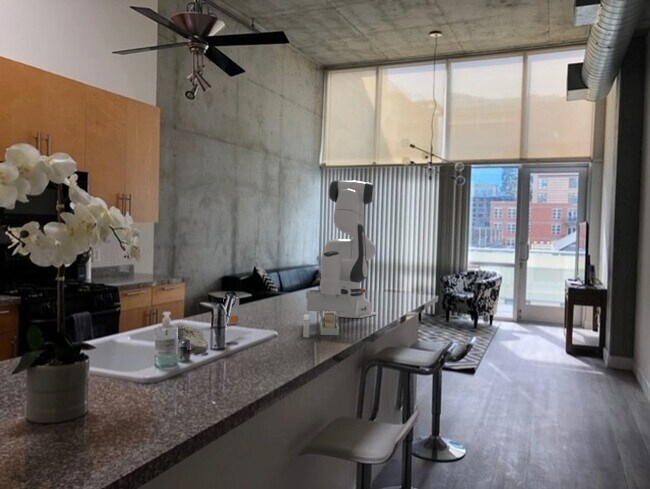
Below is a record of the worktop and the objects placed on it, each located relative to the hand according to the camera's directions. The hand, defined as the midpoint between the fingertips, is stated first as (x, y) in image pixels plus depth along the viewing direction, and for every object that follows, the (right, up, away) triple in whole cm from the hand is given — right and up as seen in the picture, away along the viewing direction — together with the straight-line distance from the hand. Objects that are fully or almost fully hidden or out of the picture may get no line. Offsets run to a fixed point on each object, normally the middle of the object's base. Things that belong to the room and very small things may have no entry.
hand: (329, 321), depth 223 cm
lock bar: (0, -3, 0) cm, 3 cm away
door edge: (-10, -4, +1) cm, 11 cm away
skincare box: (-45, -3, +13) cm, 47 cm away
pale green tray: (0, -4, 0) cm, 4 cm away
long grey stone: (-53, -5, -26) cm, 59 cm away
